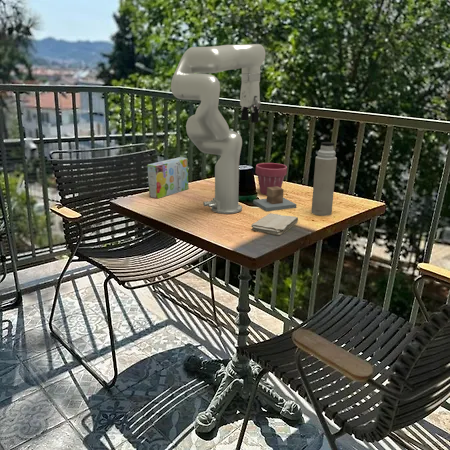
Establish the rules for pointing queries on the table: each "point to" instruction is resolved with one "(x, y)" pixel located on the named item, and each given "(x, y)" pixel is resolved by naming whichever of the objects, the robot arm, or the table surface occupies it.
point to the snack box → (168, 177)
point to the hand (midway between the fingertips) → (249, 121)
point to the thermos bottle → (324, 180)
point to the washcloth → (274, 224)
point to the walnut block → (274, 195)
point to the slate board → (274, 205)
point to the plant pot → (270, 175)
